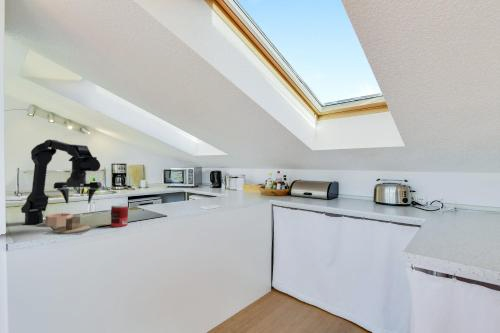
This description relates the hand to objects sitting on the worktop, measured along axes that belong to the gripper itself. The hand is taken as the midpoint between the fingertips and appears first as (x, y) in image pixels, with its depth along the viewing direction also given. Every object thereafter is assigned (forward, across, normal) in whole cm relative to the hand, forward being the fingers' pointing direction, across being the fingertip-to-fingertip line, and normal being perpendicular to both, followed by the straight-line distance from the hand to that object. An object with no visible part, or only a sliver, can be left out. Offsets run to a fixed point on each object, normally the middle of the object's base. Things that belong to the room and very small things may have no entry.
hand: (78, 203), depth 125 cm
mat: (+13, -1, -3) cm, 13 cm away
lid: (+12, -1, -3) cm, 13 cm away
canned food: (+13, +18, +3) cm, 22 cm away
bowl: (+13, -12, +12) cm, 21 cm away
